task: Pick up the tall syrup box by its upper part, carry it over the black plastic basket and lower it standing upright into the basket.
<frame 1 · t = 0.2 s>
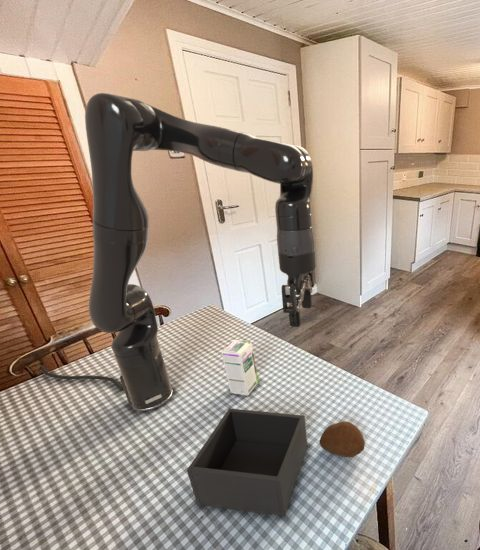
hand: (301, 316, 69), 29 cm above the table, tool pointing down, fingers open, 8 cm apart
syrup box: (244, 388, 88), on the table
potato: (342, 448, 70), on the table
basket: (257, 473, 64), on the table
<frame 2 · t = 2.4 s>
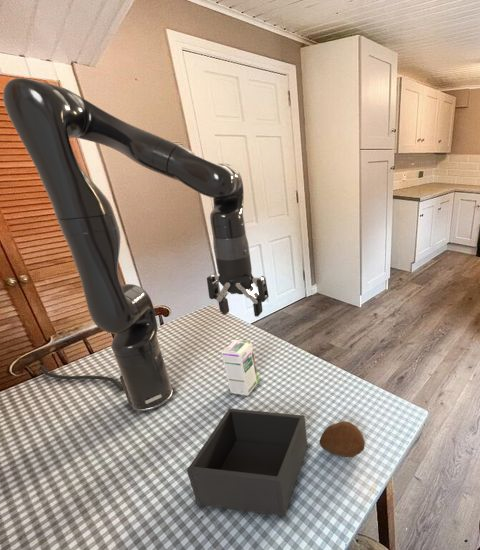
hand: (241, 314, 77), 25 cm above the table, tool pointing down, fingers open, 8 cm apart
nothing on the table moved.
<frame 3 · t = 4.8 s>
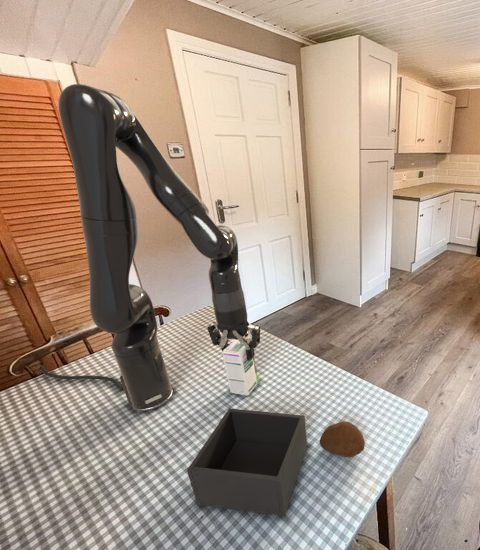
hand: (239, 357, 84), 11 cm above the table, tool pointing down, fingers closed on syrup box, 6 cm apart
syrup box: (244, 388, 88), on the table, touching gripper
everything else where it was.
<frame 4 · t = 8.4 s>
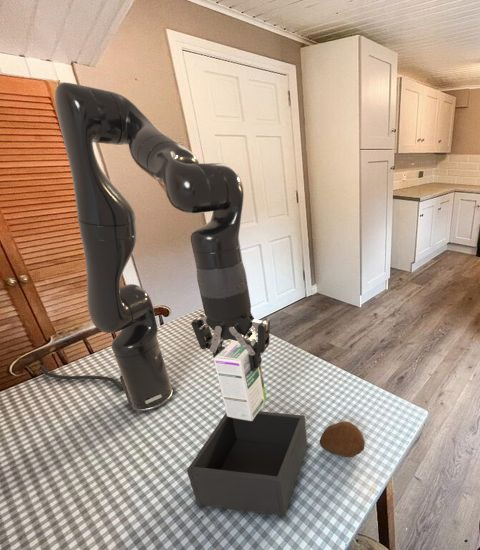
hand: (239, 366, 58), 25 cm above the table, tool pointing down, fingers closed on syrup box, 6 cm apart
syrup box: (247, 409, 62), point 15 cm above the table, touching gripper
everything else where it was.
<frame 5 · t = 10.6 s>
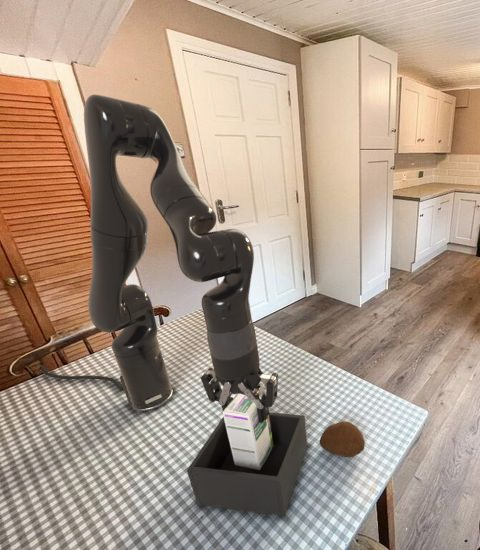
hand: (247, 417, 59), 16 cm above the table, tool pointing down, fingers closed on syrup box, 6 cm apart
syrup box: (254, 456, 63), point 5 cm above the table, touching gripper
everything else where it was.
when the fingers open (11 cm above the table, at t = 12.3 s): syrup box stays where it is, resting on basket.
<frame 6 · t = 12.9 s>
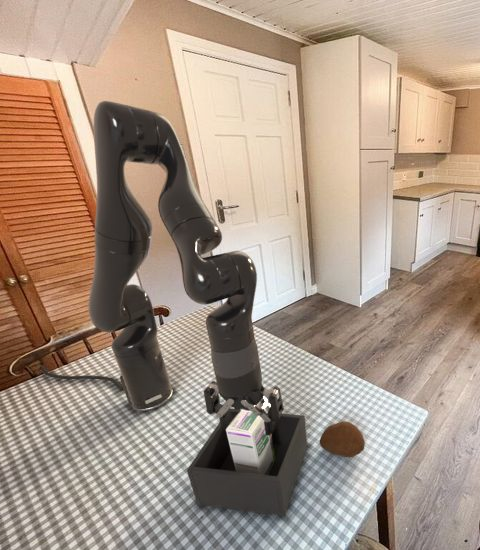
hand: (249, 429, 60), 13 cm above the table, tool pointing down, fingers open, 8 cm apart
syrup box: (257, 470, 64), point 1 cm above the table, touching basket
everything else where it was.
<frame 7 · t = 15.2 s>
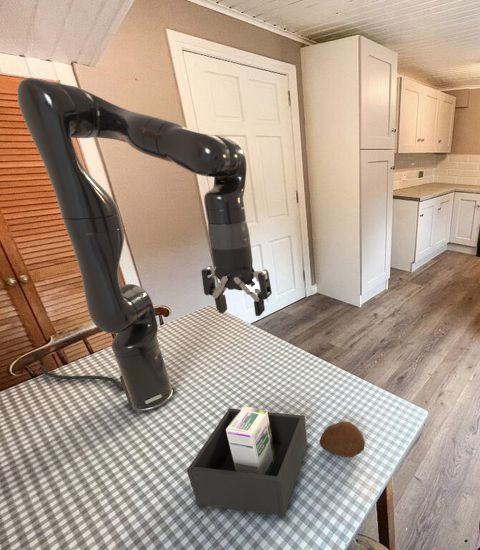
hand: (241, 313, 67), 30 cm above the table, tool pointing down, fingers open, 8 cm apart
nothing on the table moved.
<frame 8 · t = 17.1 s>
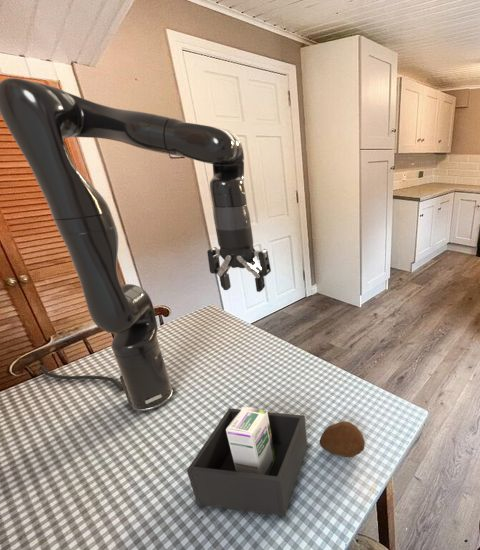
hand: (243, 289, 75), 32 cm above the table, tool pointing down, fingers open, 8 cm apart
nothing on the table moved.
at the end: syrup box inside the target area in the basket (0.2 cm from its centre), point 0.6 cm above the basket's base; syrup box tilted 0°; the gripper is holding nothing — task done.
